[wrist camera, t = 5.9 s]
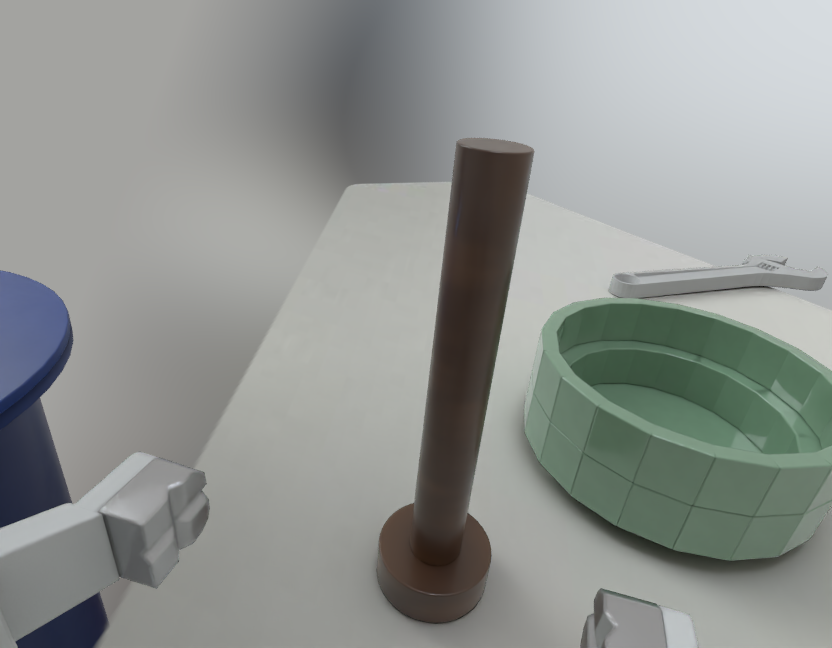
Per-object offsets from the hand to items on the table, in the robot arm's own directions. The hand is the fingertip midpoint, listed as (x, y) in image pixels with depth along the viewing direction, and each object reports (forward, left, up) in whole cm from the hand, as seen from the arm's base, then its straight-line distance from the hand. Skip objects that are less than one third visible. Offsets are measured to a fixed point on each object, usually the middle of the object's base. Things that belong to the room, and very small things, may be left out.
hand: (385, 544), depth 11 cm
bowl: (+12, +17, -10) cm, 23 cm away
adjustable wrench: (+24, +46, -10) cm, 53 cm away
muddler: (+1, +7, -10) cm, 12 cm away
